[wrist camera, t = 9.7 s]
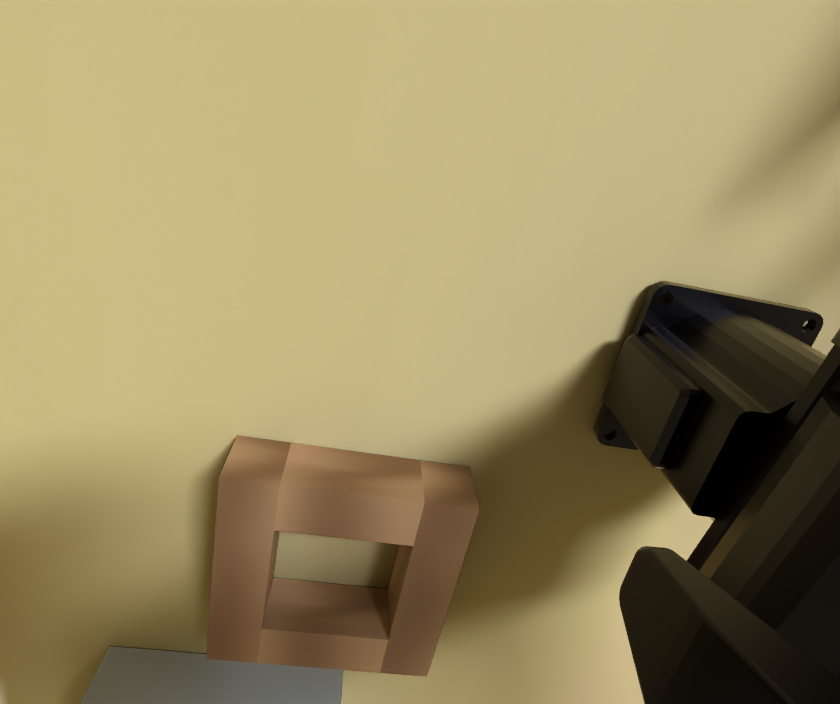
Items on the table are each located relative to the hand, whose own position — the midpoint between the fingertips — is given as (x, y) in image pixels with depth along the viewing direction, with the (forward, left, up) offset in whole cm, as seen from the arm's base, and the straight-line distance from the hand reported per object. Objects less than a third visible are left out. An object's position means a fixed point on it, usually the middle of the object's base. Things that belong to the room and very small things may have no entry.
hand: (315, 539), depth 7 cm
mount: (-1, +11, -12) cm, 17 cm away
